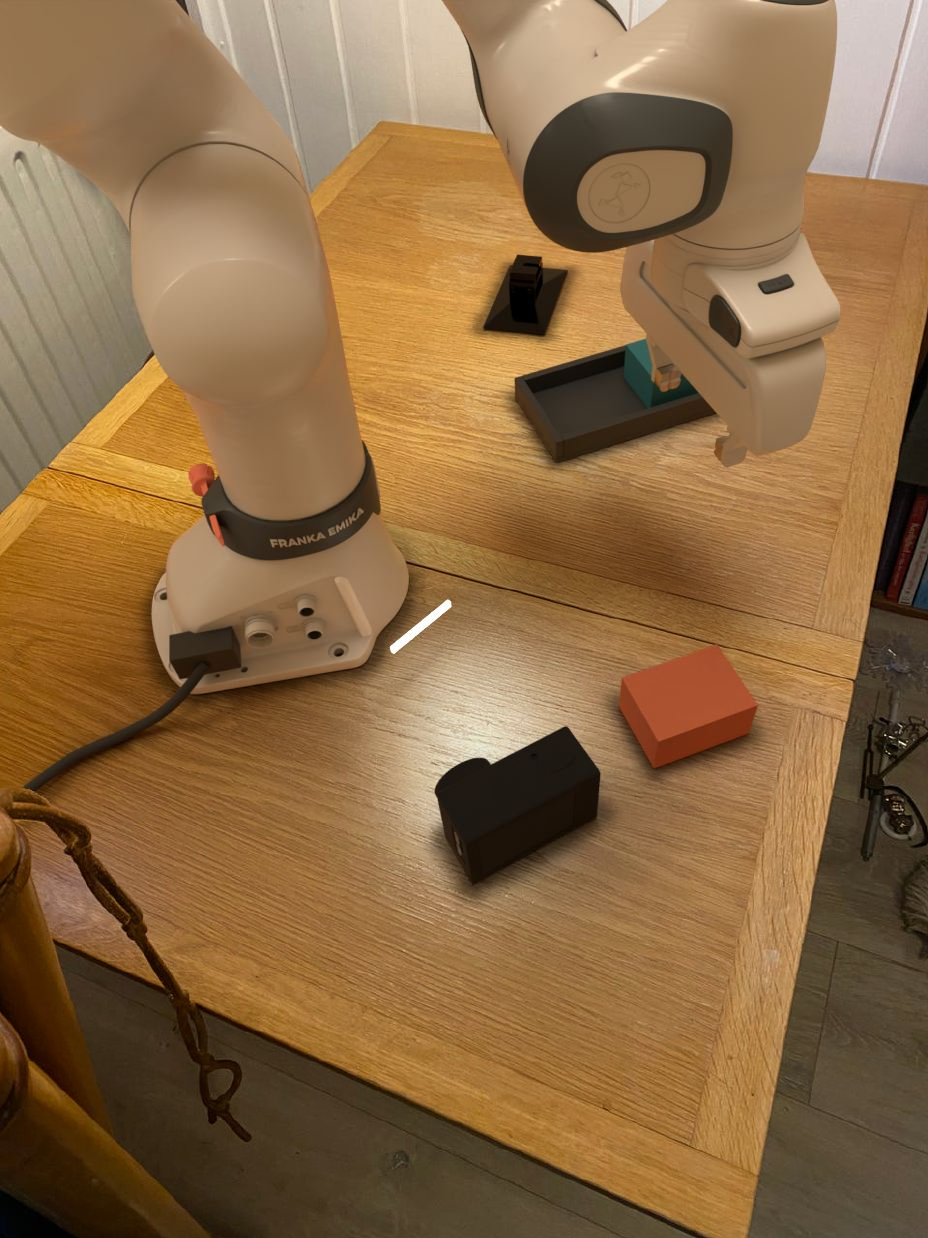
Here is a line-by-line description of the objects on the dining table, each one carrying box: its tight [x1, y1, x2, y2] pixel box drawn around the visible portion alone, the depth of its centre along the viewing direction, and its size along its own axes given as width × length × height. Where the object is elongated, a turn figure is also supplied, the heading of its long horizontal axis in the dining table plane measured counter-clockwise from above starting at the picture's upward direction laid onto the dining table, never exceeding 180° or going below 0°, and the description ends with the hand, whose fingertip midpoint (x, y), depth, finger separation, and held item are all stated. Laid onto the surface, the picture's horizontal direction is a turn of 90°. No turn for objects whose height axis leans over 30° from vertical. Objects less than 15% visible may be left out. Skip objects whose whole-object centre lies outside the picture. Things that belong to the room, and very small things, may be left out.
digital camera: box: [434, 725, 602, 886], centre depth 67 cm, size 10×5×7 cm, turn 118°
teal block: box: [624, 338, 699, 408], centre depth 95 cm, size 8×6×4 cm
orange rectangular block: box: [618, 643, 759, 770], centre depth 72 cm, size 8×6×4 cm
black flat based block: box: [481, 254, 569, 337], centre depth 107 cm, size 12×7×5 cm, turn 164°
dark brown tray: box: [513, 344, 717, 464], centre depth 96 cm, size 21×11×3 cm, turn 110°
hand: (695, 420), depth 72 cm, fingers open, 8 cm apart
